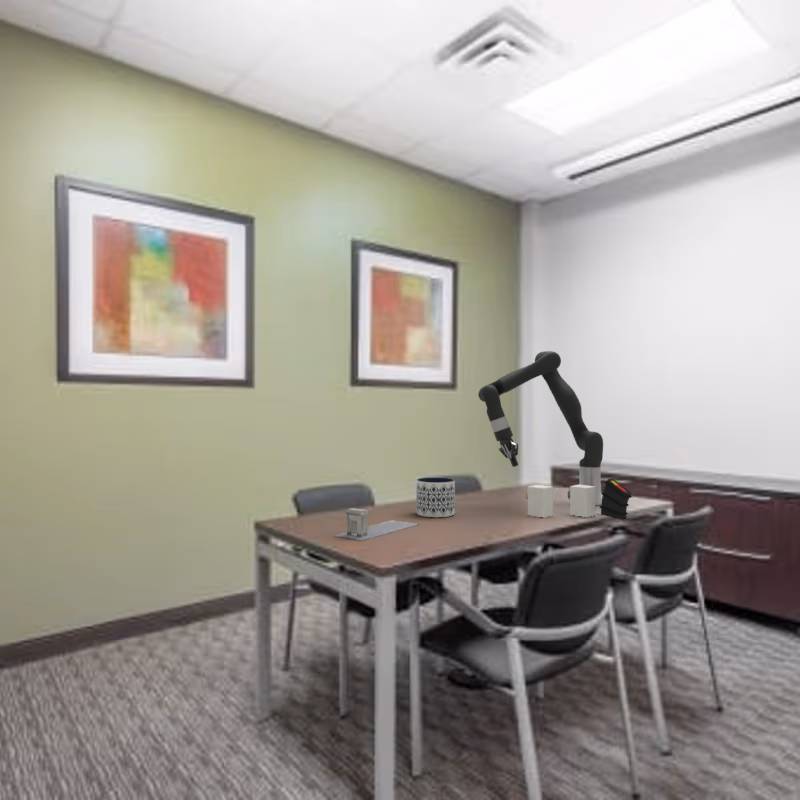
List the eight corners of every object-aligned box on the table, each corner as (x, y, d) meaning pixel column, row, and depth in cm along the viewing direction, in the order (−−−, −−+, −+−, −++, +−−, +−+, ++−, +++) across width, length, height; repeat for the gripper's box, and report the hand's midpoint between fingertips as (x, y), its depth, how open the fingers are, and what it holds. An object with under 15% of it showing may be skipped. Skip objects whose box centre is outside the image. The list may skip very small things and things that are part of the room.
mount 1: (537, 513, 250) (537, 484, 250) (553, 516, 244) (553, 486, 244) (527, 515, 245) (527, 486, 245) (543, 518, 239) (543, 488, 239)
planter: (412, 511, 253) (413, 477, 253) (449, 510, 256) (449, 476, 256) (420, 518, 238) (421, 482, 238) (459, 517, 241) (459, 482, 241)
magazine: (600, 508, 253) (612, 478, 247) (622, 526, 242) (636, 496, 237) (594, 508, 251) (606, 478, 245) (616, 527, 241) (629, 496, 235)
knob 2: (573, 498, 251) (573, 488, 251) (591, 501, 245) (591, 490, 245) (567, 500, 248) (567, 489, 248) (585, 502, 242) (586, 492, 242)
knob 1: (531, 499, 250) (531, 488, 250) (549, 501, 244) (549, 491, 244) (525, 500, 247) (525, 489, 247) (543, 503, 241) (543, 492, 241)
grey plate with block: (334, 537, 207) (334, 509, 207) (392, 521, 233) (393, 497, 233) (361, 542, 199) (361, 513, 199) (418, 526, 226) (418, 500, 226)
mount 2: (579, 512, 251) (579, 484, 251) (595, 515, 245) (595, 486, 245) (569, 515, 246) (570, 486, 246) (586, 517, 241) (586, 488, 241)
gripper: (516, 423, 255) (530, 461, 254) (500, 428, 267) (514, 464, 266) (502, 429, 252) (516, 467, 251) (487, 433, 264) (500, 470, 263)
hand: (515, 466), depth 259 cm, fingers closed
